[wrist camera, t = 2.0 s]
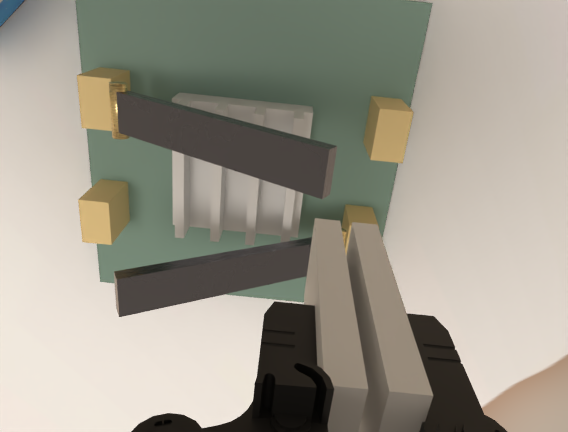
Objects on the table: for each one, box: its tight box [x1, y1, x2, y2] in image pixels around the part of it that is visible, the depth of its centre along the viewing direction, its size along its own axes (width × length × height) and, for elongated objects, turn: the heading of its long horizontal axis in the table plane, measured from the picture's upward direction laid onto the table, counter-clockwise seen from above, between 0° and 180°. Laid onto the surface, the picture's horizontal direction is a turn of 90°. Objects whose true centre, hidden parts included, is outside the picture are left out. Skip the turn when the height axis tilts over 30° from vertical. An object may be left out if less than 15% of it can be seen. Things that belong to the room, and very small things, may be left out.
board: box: [76, 0, 432, 302], centre depth 32 cm, size 23×22×5 cm
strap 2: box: [114, 228, 347, 317], centre depth 28 cm, size 3×14×1 cm
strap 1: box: [109, 81, 337, 199], centre depth 25 cm, size 3×14×1 cm, turn 85°
